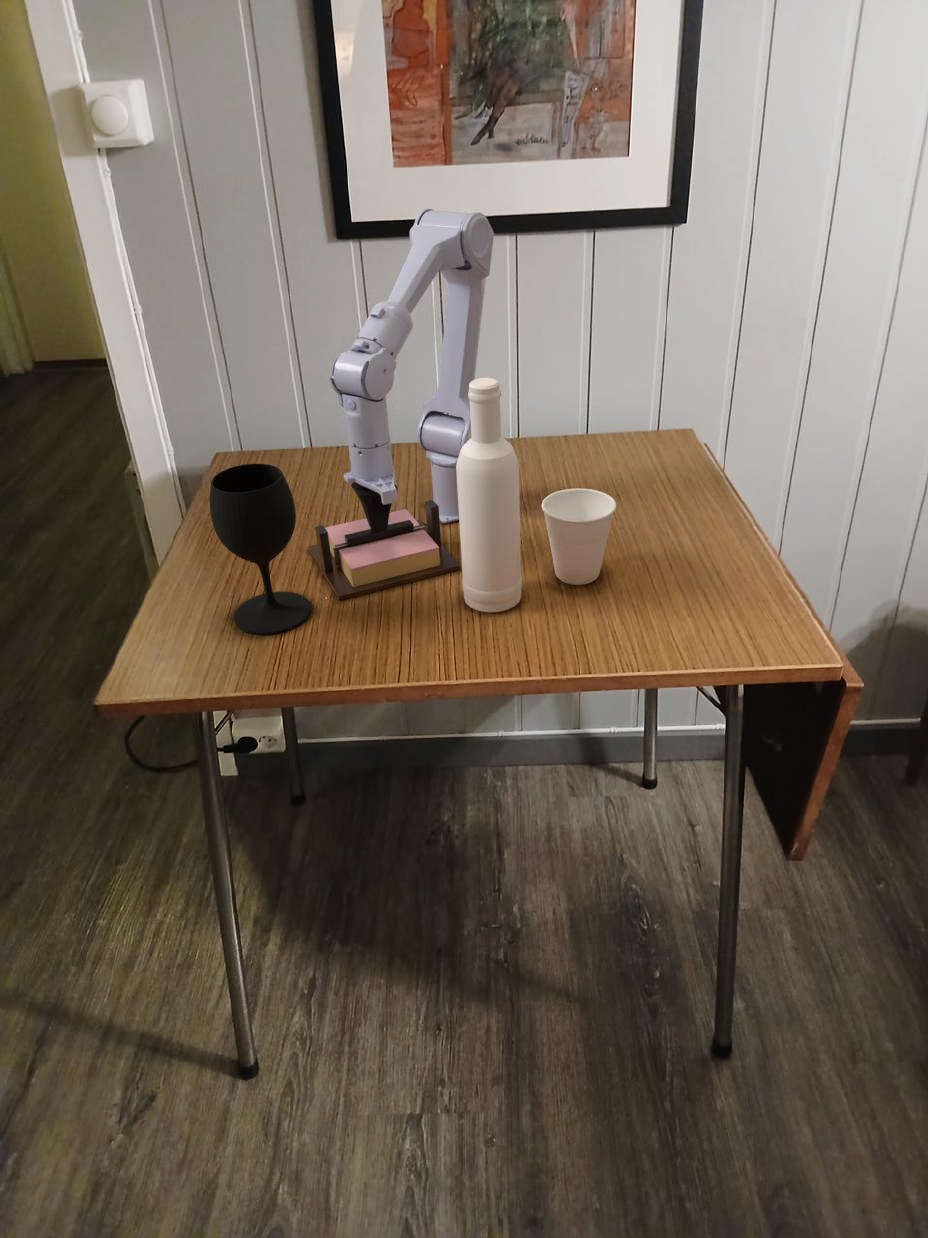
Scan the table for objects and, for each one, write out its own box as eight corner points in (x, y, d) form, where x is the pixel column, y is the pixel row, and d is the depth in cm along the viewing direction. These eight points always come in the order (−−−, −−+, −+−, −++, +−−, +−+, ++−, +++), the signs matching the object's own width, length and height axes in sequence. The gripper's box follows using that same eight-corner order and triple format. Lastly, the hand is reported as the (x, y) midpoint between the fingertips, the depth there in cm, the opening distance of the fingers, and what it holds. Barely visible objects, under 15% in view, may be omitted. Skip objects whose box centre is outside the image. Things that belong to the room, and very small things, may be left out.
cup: (566, 601, 124) (567, 528, 118) (528, 569, 132) (527, 499, 126) (627, 580, 128) (631, 508, 122) (586, 551, 135) (588, 481, 129)
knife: (424, 540, 138) (422, 516, 136) (428, 545, 137) (426, 520, 135) (334, 562, 134) (330, 537, 132) (337, 567, 133) (333, 542, 131)
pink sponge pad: (407, 526, 143) (405, 508, 141) (440, 565, 132) (439, 547, 131) (326, 545, 139) (323, 527, 137) (353, 587, 128) (350, 568, 127)
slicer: (420, 524, 145) (416, 481, 141) (460, 569, 133) (457, 525, 129) (308, 550, 140) (301, 507, 136) (339, 601, 127) (332, 555, 123)
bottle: (527, 609, 123) (524, 389, 107) (469, 617, 122) (456, 396, 106) (514, 579, 130) (509, 368, 113) (459, 586, 129) (446, 374, 112)
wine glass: (276, 643, 119) (248, 502, 108) (217, 622, 124) (185, 486, 113) (327, 605, 126) (306, 469, 116) (270, 587, 131) (244, 455, 120)
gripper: (325, 428, 130) (337, 515, 138) (357, 465, 119) (368, 558, 126) (373, 419, 133) (382, 505, 140) (408, 454, 121) (416, 546, 129)
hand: (378, 529), depth 133 cm, fingers closed, pressing on knife
